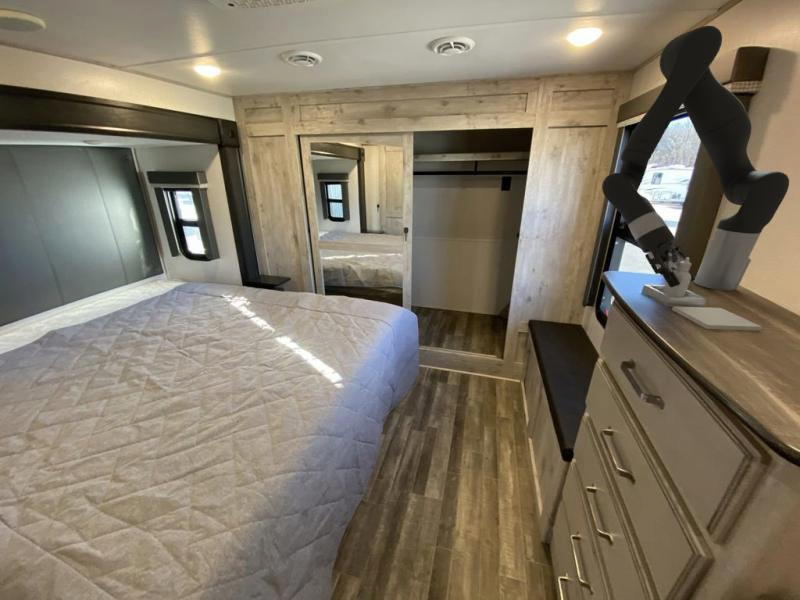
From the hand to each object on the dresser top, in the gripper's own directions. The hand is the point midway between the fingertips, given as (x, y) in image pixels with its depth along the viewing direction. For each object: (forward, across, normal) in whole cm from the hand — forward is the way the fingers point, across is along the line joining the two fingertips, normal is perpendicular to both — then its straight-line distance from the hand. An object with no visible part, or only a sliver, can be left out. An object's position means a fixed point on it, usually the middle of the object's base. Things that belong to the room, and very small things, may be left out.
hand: (683, 283), depth 83 cm
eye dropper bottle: (+3, 0, +5) cm, 6 cm away
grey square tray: (+3, 0, +5) cm, 5 cm away
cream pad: (+10, -5, -3) cm, 12 cm away
